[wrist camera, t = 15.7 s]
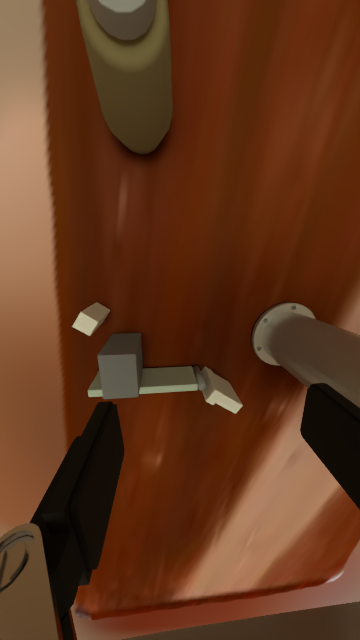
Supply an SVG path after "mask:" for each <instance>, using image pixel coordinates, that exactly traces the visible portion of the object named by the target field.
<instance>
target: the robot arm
mask: <svg viewBox="0 0 360 640" xmlns="http://www.w3.org/2000/svg"><path fill="white" fill-rule="evenodd" d="M251 342H252V347H253V350H254V352H255V353H256V355H257V356H258V357H259V358H260V359H261V360H263V361H264V362H266V363H268V364H271V365H281V366H282V367H283V368H285V369H286V370H287V371H288V372H289V373H291V374H292V375H293V376H294V377H295V378H297V379H298V380H299V381H300V382H301V383H302V384H304V385H305V386H306V387H307V388H308V389H307V395H306V400H305V406H304V412H303V417H302V423H301V429H300V431H301V435H302V437H303V438H304V440H305V441H306V442H307V443H308V445H309V446H310V447H311V448H312V450H313V451H314V452H315V454H316V455H317V456H318V457H319V459H320V460H321V461H322V462H323V464H324V465H325V466H326V467H327V469H328V470H329V471H330V473H331V474H332V475H333V476H334V478H335V479H336V480H337V481H338V483H339V484H340V485H341V486H342V488H343V489H344V490H345V492H346V493H347V494H348V495H349V497H350V498H351V499H352V500H353V502H354V503H355V504H356V505H357V507H358V508H359V509H360V335H358V334H355V333H353V332H350V331H347V330H344V329H341V328H339V327H336V326H333V325H330V324H327V323H325V322H322V321H319V320H316V319H315V317H314V315H313V313H312V312H311V311H310V310H309V309H308V308H307V307H305V306H303V305H300V304H297V303H290V302H286V303H281V304H278V305H275V306H273V307H271V308H270V309H268V310H267V311H266V312H264V313H263V314H262V315H261V317H260V318H259V319H258V321H257V322H256V324H255V326H254V328H253V332H252V339H251ZM123 457H124V444H123V438H122V433H121V427H120V422H119V416H118V411H117V406H116V404H113V403H112V402H111V401H109V402H99V403H98V404H97V406H96V408H95V410H94V412H93V414H92V416H91V418H90V420H89V422H88V424H87V426H86V428H85V429H84V431H83V433H82V435H81V436H78V437H76V438H75V440H74V441H73V443H72V445H71V446H70V448H69V450H68V452H67V454H66V456H65V458H64V460H63V461H62V464H61V465H60V467H59V469H58V471H57V473H56V474H55V476H54V478H53V480H52V482H51V484H50V486H49V487H48V490H47V491H46V493H45V495H44V497H43V499H42V501H41V502H40V504H39V506H38V508H37V510H36V512H35V514H34V516H33V517H32V520H31V521H30V523H25V524H22V525H19V526H16V527H15V528H13V529H11V530H10V531H8V532H7V533H5V534H4V535H3V536H2V537H1V538H0V640H77V637H76V632H75V628H74V623H73V618H72V614H71V609H70V607H71V606H72V605H73V604H74V600H75V597H76V593H77V590H78V586H80V585H88V584H89V582H90V578H91V574H92V570H94V569H97V567H98V565H99V561H100V557H101V553H102V549H103V544H104V540H105V536H106V531H107V527H108V523H109V518H110V514H111V509H112V505H113V501H114V496H115V492H116V488H117V483H118V479H119V475H120V470H121V466H122V461H123ZM122 640H360V602H353V603H346V604H340V605H333V606H327V607H320V608H313V609H307V610H300V611H293V612H286V613H280V614H273V615H266V616H260V617H254V618H247V619H241V620H235V621H228V622H222V623H216V624H209V625H203V626H196V627H190V628H184V629H177V630H171V631H165V632H160V633H154V634H149V635H143V636H138V637H133V638H128V639H122Z"/></svg>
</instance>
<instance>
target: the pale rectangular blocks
mask: <svg viewBox="0 0 360 640" xmlns="http://www.w3.org/2000/svg"><path fill="white" fill-rule="evenodd" d="M110 311H111V310H109V309H108V308H106V307H104V306H103V305H101V304H99V303H98V302H96V303H95V304H93V305H91V306H90V307H88V308H86V309H85V310H83V311H82V312H80V314H79V316H78V317H77V319H76V321H75V323H74V324H73V326H72V327H74V328H76V329H78V330H79V331H81V332H83V333H85V334H87V335H89V336H90V335H91V334H92V333H93V332H94V331H95V330H96V329H97V328H98V327H99V326H100V325H101V324H102V323H103V322H104V320H105V318H106V317H107V315H108V314H109V312H110ZM201 373H202V376H203V379H204V381H205V384H206V389H205V390H202V392H203V395H204V398H205V401H206V402H208V403H210V404H212V405H214V404H215V403H217V404H218V405H220V406H222V407H224V408H226V409H228V410H229V411H231V412H233V413H235V414H236V413H237V411H238V410H239V409H240V408H241V407H242V406H243V405H242V403H241V402H240V400H239V398H238V397H237V395H236V393H235V391H234V390H233V388H232V386H231V385H230V383H229V382H228V381H226V380H224V379H223V378H221V377H219V376H218V375H216V374H214V373H213V372H212V370H211V369H209V368H207V367H206V366H205V367H204V368H203V370H202V371H201Z"/></svg>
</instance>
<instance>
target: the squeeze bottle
mask: <svg viewBox="0 0 360 640" xmlns="http://www.w3.org/2000/svg"><path fill="white" fill-rule="evenodd" d="M76 3H77V8H78V13H79V19H80V24H81V29H82V33H83V37H84V41H85V45H86V49H87V53H88V57H89V61H90V65H91V69H92V73H93V77H94V81H95V85H96V89H97V93H98V97H99V101H100V105H101V109H102V114H103V117H104V119H105V121H106V123H107V125H108V127H109V129H110V130H111V132H112V133H113V134H114V135H115V136H116V137H117V138H118V139H119V140H120V141H121V142H122V143H123V144H124V145H125V146H126V147H128V148H129V149H130V150H131V151H133V152H136V153H138V154H148V153H150V152H152V151H153V150H155V149H156V148H157V146H158V145H159V143H160V142H161V140H162V139H163V137H164V136H165V134H166V133H167V131H168V130H169V127H170V123H171V118H172V114H173V105H172V78H171V51H170V25H169V13H168V1H167V0H76Z"/></svg>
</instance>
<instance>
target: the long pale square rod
mask: <svg viewBox="0 0 360 640" xmlns="http://www.w3.org/2000/svg"><path fill="white" fill-rule="evenodd" d="M197 386H198V389H199V390H205V389H206V384H205V381H204V379H203V376H202V373H201V371H200V368H199V366H194V367H193V368H192V366H187V367H166V368H145V369H143V371H142V378H141V384H140V390H139V394H145V393H162V392H178V391H194V390H197ZM88 395H89V397H97V396H103V393H102V386H101V378H100V371H98V373H97V375H96V377H95V378H94V380H93V382H92V384H91V386H90V387H89V389H88Z"/></svg>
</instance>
